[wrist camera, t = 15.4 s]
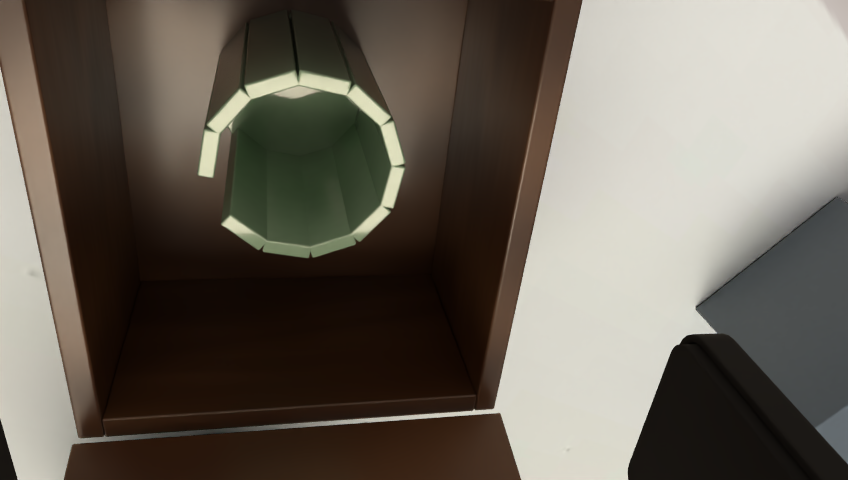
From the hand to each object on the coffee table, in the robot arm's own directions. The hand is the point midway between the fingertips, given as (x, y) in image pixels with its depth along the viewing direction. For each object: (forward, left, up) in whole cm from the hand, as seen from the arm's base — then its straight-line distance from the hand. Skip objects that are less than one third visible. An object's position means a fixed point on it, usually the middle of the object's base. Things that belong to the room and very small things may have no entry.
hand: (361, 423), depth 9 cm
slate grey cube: (-8, +25, -16) cm, 31 cm away
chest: (+1, +1, -16) cm, 16 cm away
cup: (0, 0, -15) cm, 15 cm away
